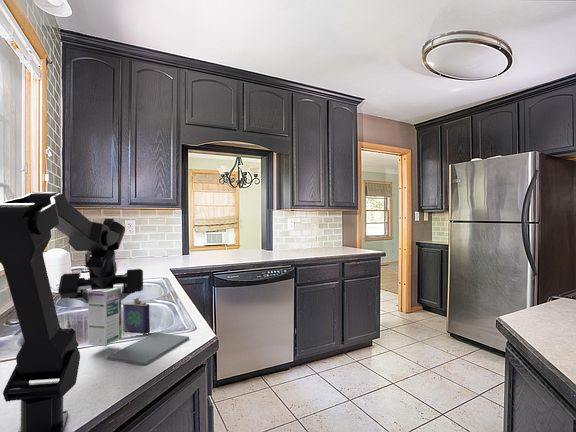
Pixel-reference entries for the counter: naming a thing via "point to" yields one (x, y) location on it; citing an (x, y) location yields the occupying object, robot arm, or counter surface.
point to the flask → (136, 317)
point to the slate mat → (148, 348)
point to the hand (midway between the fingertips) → (105, 300)
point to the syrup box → (104, 316)
